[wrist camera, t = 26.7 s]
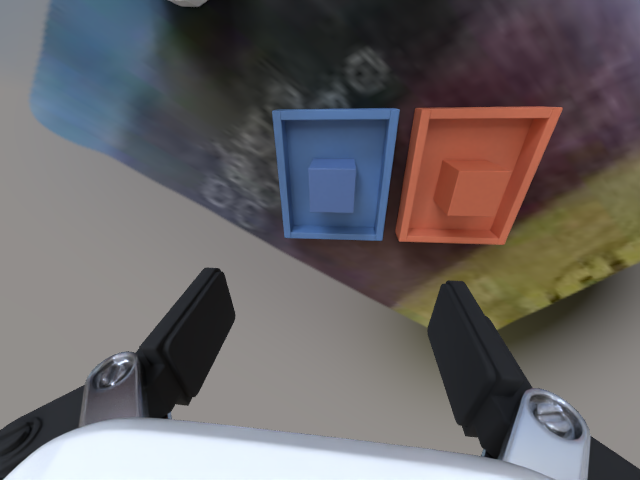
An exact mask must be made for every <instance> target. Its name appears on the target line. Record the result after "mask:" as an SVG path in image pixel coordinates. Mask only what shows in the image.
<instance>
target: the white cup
mask: <svg viewBox="0 0 640 480" xmlns="http://www.w3.org/2000/svg"><path fill="white" fill-rule="evenodd" d="M168 1H171V2H173V3H175V4H177V5H179V6H183V7H199V6H201V5H202V4H203V3H205V2H206V1H208V0H168Z"/></svg>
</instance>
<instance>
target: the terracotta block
mask: <svg viewBox="0 0 640 480" xmlns="http://www.w3.org/2000/svg"><path fill="white" fill-rule="evenodd" d="M511 172H512V171H510V170H508V169H506V168H503V167H501V166H499V165H497V164H495V163H492V162H490V161H488V160H442V164H441V169H440V173H439V177H438V182H437V186H436V190H435V194H434V199H433V200H434V201H435V202H436V203H437V204H438V205H439V207H440V208H441V209H442V210H443V211H444V212H445V214H446V215H447V216H481V217H494V216H495V214H496V211H497V209H498V206H499V203H500V201H501V198H502V196H503V193H504V190H505V188H506V185H507V182H508V180H509V177H510V175H511Z"/></svg>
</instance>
